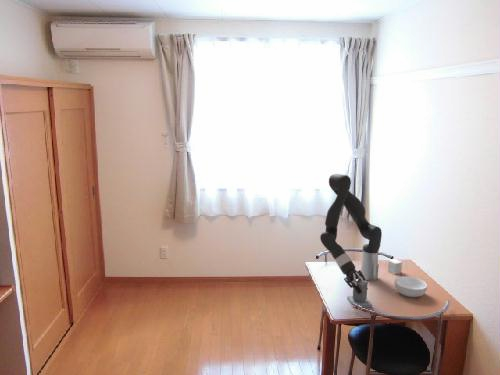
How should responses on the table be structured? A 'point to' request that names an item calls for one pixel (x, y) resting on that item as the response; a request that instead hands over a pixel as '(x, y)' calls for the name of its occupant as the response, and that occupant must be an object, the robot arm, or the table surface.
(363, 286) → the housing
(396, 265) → the product box
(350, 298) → the stub base
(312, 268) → the table surface
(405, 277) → the cereal bowl
